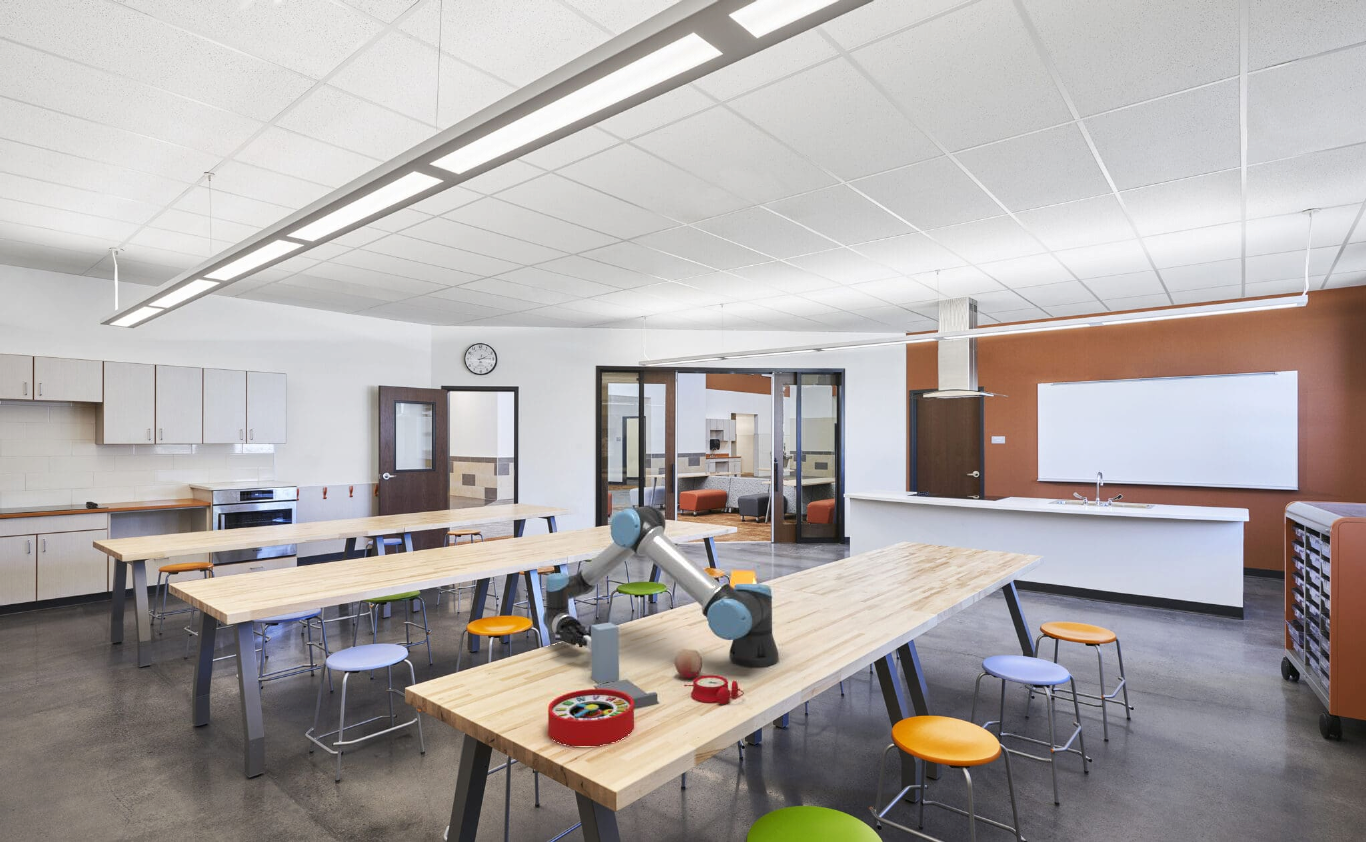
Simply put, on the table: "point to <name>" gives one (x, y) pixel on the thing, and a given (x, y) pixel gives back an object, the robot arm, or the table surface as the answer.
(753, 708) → the table surface
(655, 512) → the robot arm
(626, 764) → the table surface
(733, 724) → the table surface
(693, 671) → the fruit
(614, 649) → the blue-grey rectangular block
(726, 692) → the alarm clock
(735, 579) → the orange juice
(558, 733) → the toy clock
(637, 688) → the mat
